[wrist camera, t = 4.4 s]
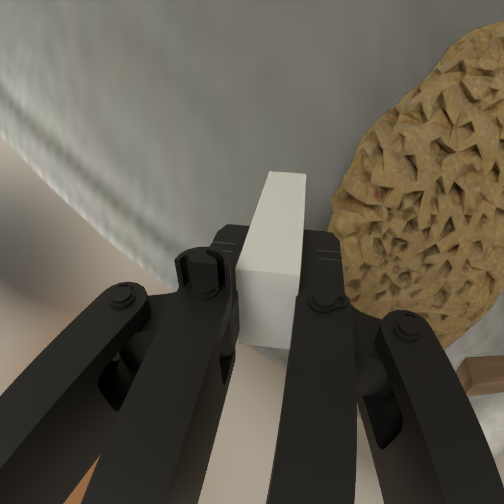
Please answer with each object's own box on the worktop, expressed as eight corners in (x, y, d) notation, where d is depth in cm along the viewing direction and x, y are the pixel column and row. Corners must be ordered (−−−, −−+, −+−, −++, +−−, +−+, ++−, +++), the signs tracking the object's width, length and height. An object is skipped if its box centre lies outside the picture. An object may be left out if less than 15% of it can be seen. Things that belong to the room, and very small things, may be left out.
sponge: (443, 3, 10) (217, 267, 18) (554, -1, 4) (222, 387, 11) (530, 156, 16) (362, 344, 23) (606, 203, 9) (399, 430, 16)
